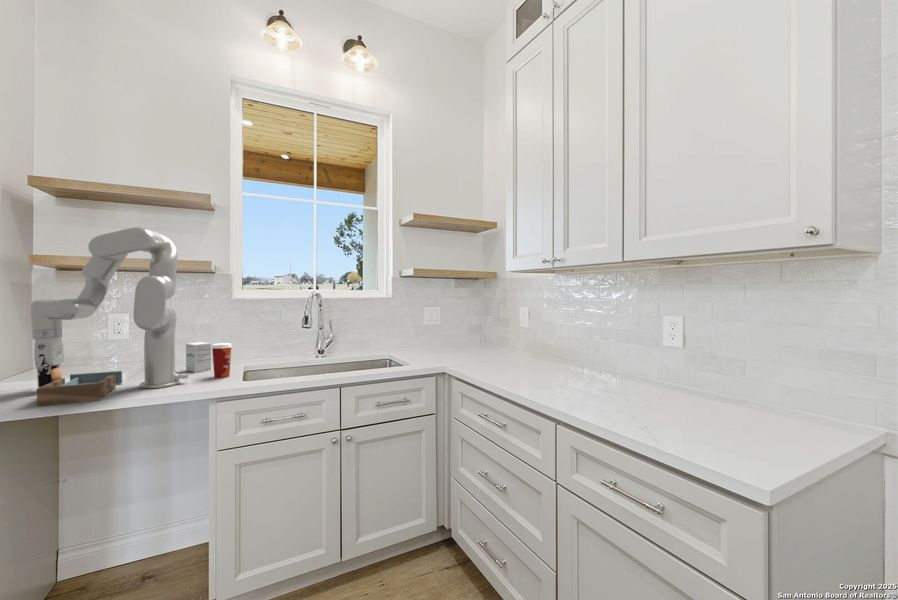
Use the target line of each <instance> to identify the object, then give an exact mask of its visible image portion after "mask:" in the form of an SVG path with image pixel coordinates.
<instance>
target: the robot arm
mask: <svg viewBox="0 0 898 600" xmlns="http://www.w3.org/2000/svg"><path fill="white" fill-rule="evenodd" d="M88 251H89V253H90V254H91V257H90V258H89V260H88V261H87V263H86V264H85V265H84V266H83V268H82V270H81V274H82V276H83V277H84V280H85V284H84V287H83V289H82V290H81V292H80V294H79V295H78V296H77V298H67V299H66V298H65V299H59V300H57V299H40V300H39V299H37V300H33V301H32V302H31V303H30V316H31V317H30V319H31V333H32V334H31V335H32V337H31V338H32V340H34V349H33V350H34V352H33V353H34V355H33V357H34V360H33V361H34V366H35V368H36V369H37V370H38V377H37V379H38V378H39V386H44V385H46V384H48V383H51V382H52V377H51V374H50V368H61V367H60V366H61V364H62V363H64V362H65V352H64V344H63V340H62V339H63V325H62V324H63V323H62V321H72V320H79V319H85V318H89V317H90V316H92V315H93V314H95V313H96V312H97V311H98V309H99V307H100V306H101V304H102V303H103V302H104V300H105V298H106V296H107V293H108V290H109V286H110V281H111V280H112V279H113V277H114V275H115V274H116V272H117V271H118V270H119V268H120V266H121V265H122V264H123V262H124V261H125V260H126V258H127V256H128V255H129V254H130V253H131V254H132V253H135V252H139V251H140V252H144V253H149V254H151V258H150V260H149V261H150V262H149V270H148V275H146V276H144V277H142V278H140V280H139V281H138V282H137V284H136V286H135V289H134V291H135V292H134V299H133V300H134V303H133V315H132V316H133V322H134V324H135V325H136V327H138V328H139V329H140V330H143V331H144V337H143V338H144V340H143V343H144V345H143V350H144V351H143V352H144V353H143V354H144V355H143V356H144V357H143V358H144V362H143V363H144V364H143V365H144V372H143V373H144V381H143V382H140V383H139V388H141V389H161V388H166V387H172V386H175V385H178V384H179V383H180V382H181V381H180V379H189V373H183V372H182V373H178V371H177V370H176V367H175V366H176V362H175V359H176V358H175V357H176V355H175V353H176V351H175V347H176V341H175V339H176V336H175V335H176V325H177V314H176V310H175V309H174V308H173V307H172V306H170V305H168V304H166V303H167V300H169V299H171V298H173V296H174V295H175V293H176V285H177V283H176V282H177V268H178V266H177V265H178V250H177V247H176V246H175V244H174V242H173V241H172V240H171V239H170V238H168V237H167V236H165V235H163V234H161V233H160V232H158V231H156V230H155V231H154V230H152V229H148V228H145V227H138V226H137V227H135V226H134V227H129V228H125V229H121V230H117V231H111V232H108V233H104V234H103V233H102V234H99V235H96V236H95V237H93V238H92V239H90V241H89V243H88ZM46 369H47V370H46ZM37 370H36V371H37Z"/></svg>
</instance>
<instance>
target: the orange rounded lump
mask: <svg viewBox="0 0 898 600" xmlns="http://www.w3.org/2000/svg"><path fill="white" fill-rule="evenodd" d="M46 370H47V368H46ZM36 371H37V372H36V373H37V375H36V377H37V389H38V388H40V387H42V386H39V378H38V370H36ZM50 374H51V377H52V382H53V381H55V380H57V379H61V378H62V368H61V367H60V368H50Z"/></svg>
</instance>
